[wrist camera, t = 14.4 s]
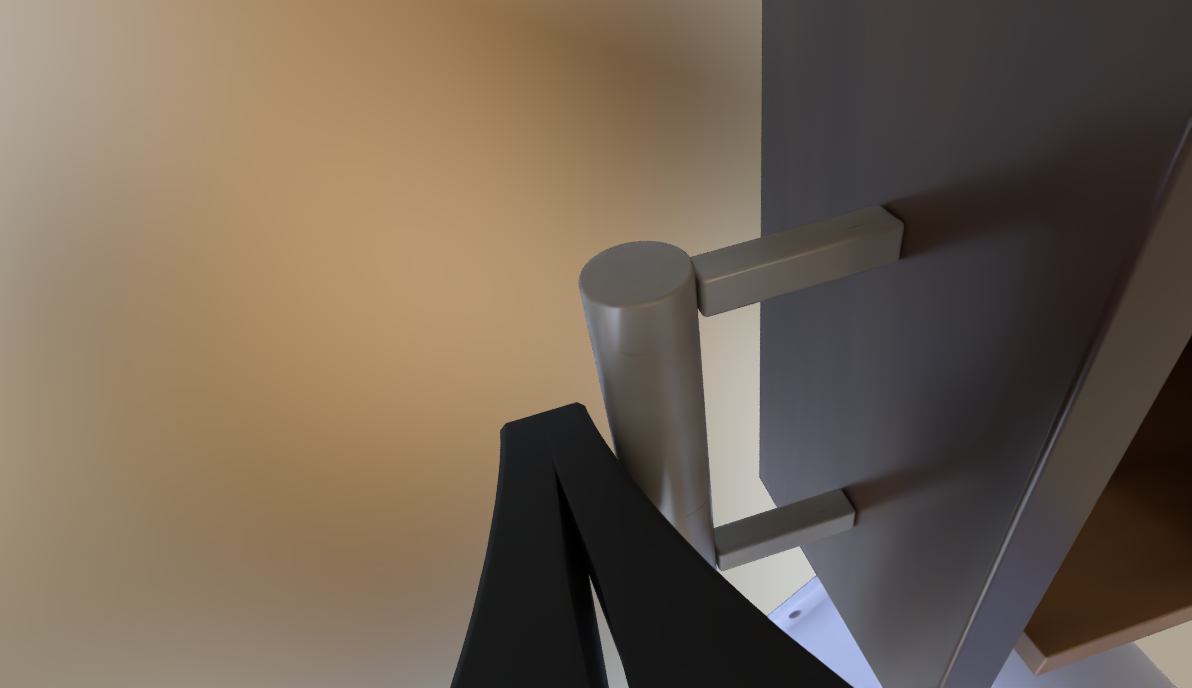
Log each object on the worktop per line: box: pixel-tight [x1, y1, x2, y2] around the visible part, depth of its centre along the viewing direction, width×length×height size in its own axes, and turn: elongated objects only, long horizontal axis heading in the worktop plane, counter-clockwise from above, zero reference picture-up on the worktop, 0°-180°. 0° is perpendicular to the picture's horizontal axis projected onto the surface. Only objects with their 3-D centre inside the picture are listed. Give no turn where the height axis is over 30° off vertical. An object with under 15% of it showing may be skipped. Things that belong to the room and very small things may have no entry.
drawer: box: [579, 0, 1192, 688], centre depth 11 cm, size 17×13×7 cm
